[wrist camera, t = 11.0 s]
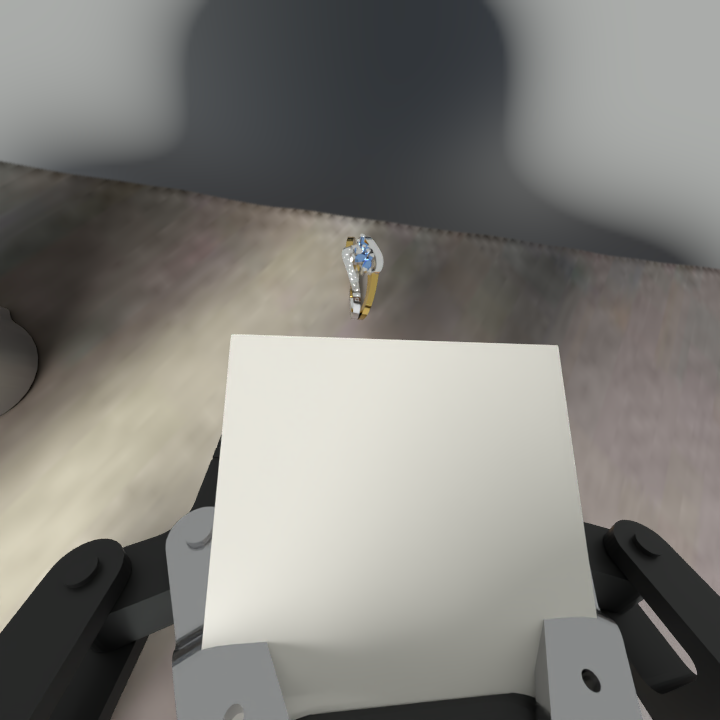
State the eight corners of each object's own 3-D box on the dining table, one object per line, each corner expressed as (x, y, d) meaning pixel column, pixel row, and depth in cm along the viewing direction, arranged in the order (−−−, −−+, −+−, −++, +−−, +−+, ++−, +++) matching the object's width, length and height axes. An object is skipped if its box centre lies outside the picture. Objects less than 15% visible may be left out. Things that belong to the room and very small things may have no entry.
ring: (339, 263, 31) (345, 209, 23) (370, 266, 31) (386, 214, 24) (335, 329, 30) (339, 294, 22) (368, 331, 30) (384, 298, 22)
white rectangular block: (413, 523, 16) (613, 733, 5) (284, 528, 15) (188, 788, 4) (409, 397, 17) (557, 345, 6) (291, 395, 16) (231, 333, 6)
